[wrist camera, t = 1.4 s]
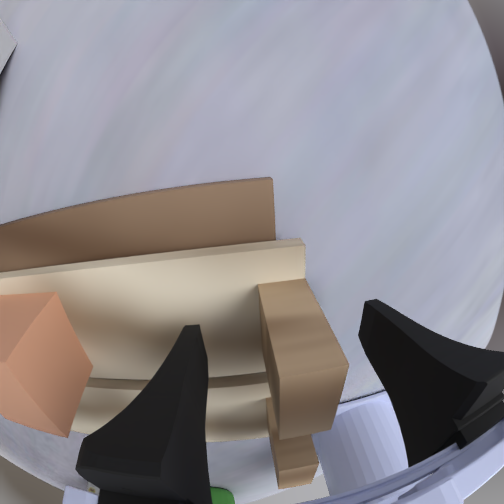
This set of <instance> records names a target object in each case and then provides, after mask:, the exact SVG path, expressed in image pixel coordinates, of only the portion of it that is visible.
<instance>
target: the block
mask: <svg viewBox="0 0 504 504" xmlns="http://www.w3.org/2000/svg"><path fill="white" fill-rule="evenodd" d="M92 369H93V365H92V363H91V362H90V360H89V358H88V356H87V355H86V353H85V351H84V349H83V347H82V345H81V343H80V341H79V340H78V338H77V336H76V334H75V332H74V330H73V328H72V325H71V323H70V321H69V319H68V317H67V315H66V313H65V310H64V308H63V306H62V304H61V301H60V299H59V297H58V294H57V292H45V293H28V294H10V295H0V413H1V414H2V415H3V417H4V418H5V419H8V420H11V421H13V422H16V423H19V424H22V425H24V426H27V427H30V428H33V429H37V430H40V431H43V432H47V433H50V434H54V435H58V436H62V437H66V438H68V436H69V433H70V429H71V426H72V423H73V420H74V417H75V414H76V411H77V408H78V406H79V403H80V400H81V397H82V395H83V392H84V389H85V387H86V384H87V381H88V379H89V376H90V374H91V371H92Z"/></svg>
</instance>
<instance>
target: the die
mask: <svg viewBox="0 0 504 504" xmlns="http://www.w3.org/2000/svg"><path fill="white" fill-rule="evenodd" d="M16 45H17V42H16V40H15V39H14V37H13V36H12V35H11V33H10V32H9V30H8V29H7V27H6V26H5V24H4V23H3V21H2V20H1V19H0V74H1V72H2V70H3V68H4V66H5V64H6V62H7V60H8V59H9V57H10V55H11V53H12V52H13V50H14V48H15V47H16Z"/></svg>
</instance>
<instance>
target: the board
mask: <svg viewBox="0 0 504 504" xmlns="http://www.w3.org/2000/svg"><path fill="white" fill-rule="evenodd" d="M275 240H276V234H275V212H274V192H273V179H272V178H271V177H265V178H253V179H242V180H232V181H222V182H213V183H204V184H196V185H188V186H181V187H174V188H167V189H160V190H154V191H147V192H141V193H135V194H130V195H124V196H119V197H113V198H108V199H103V200H98V201H93V202H88V203H83V204H79V205H74V206H70V207H65V208H61V209H57V210H53V211H49V212H45V213H41V214H37V215H33V216H29V217H26V218H22V219H18V220H15V221H11V222H8V223H5V224H1V225H0V273H1V272H9V271H17V270H24V269H32V268H40V267H48V266H56V265H64V264H72V263H80V262H88V261H97V260H105V259H113V258H122V257H130V256H139V255H148V254H156V253H165V252H174V251H183V250H192V249H201V248H210V247H219V246H228V245H237V244H247V243H256V242H266V241H275ZM259 373H265V372H259ZM251 374H257V373H251ZM242 375H249V374H242ZM233 376H240V375H233ZM222 377H230V376H222ZM89 378H92V377H89ZM209 378H218V377H209ZM97 379H107V378H97ZM115 380H137V379H115Z"/></svg>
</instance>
